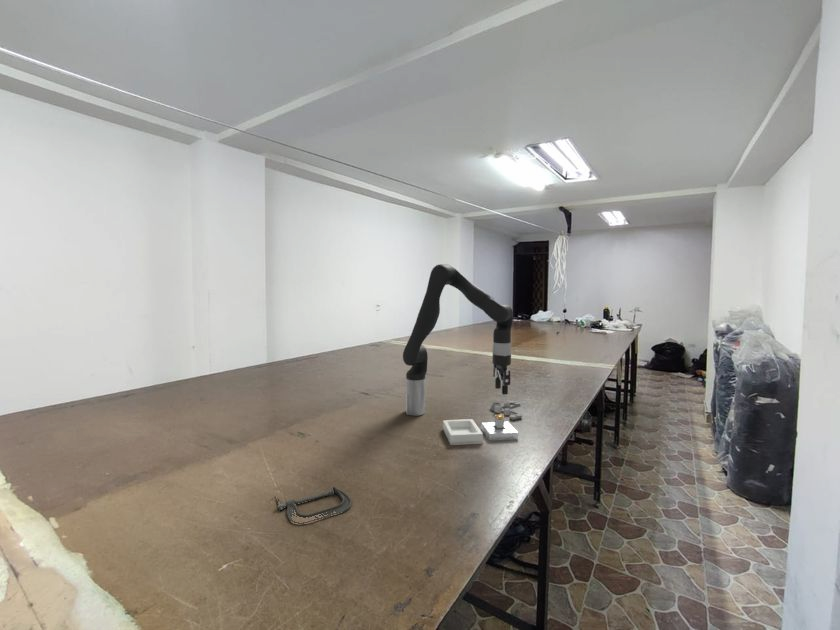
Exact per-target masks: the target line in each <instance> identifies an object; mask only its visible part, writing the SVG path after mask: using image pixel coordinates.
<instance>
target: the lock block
mask: <svg viewBox="0 0 840 630" xmlns="http://www.w3.org/2000/svg"><path fill="white" fill-rule="evenodd" d="M480 426H481V427H480V430H481V432H482V433H483V435H485V436H486V438H487V440H488V441H490V442H493V441H494V442H495V441H511V440H512V441H513V440H515V439H516V440H519V432H518V430H517V429H516V428H515V427H514V426H513V425H512V424H511V423H510V422H509V421H504V429H498V430H496V429H495V421H489V422H481V423H480Z"/></svg>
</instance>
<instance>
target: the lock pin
mask: <svg viewBox="0 0 840 630" xmlns="http://www.w3.org/2000/svg"><path fill="white" fill-rule="evenodd" d="M494 422H495V429H496V430H498V429H504V422H505V415H504V414H503V413H501V414H499V413H497V414H494Z"/></svg>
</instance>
